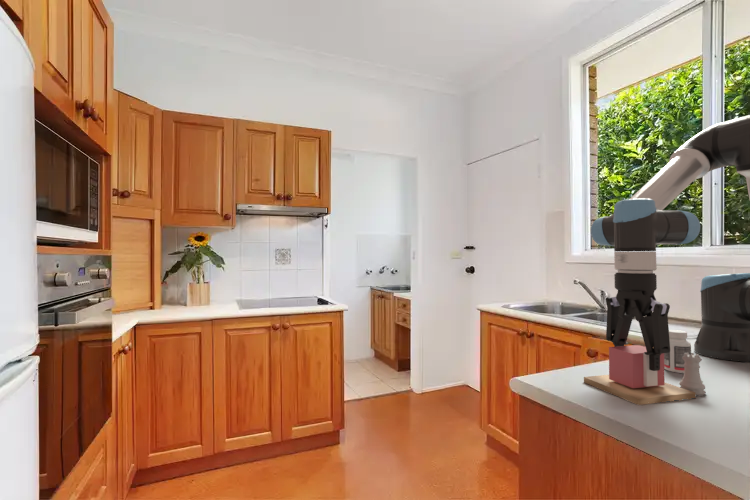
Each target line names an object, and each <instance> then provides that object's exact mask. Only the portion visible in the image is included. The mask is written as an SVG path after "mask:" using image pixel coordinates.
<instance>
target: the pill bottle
mask: <svg viewBox="0 0 750 500" xmlns="http://www.w3.org/2000/svg"><path fill="white" fill-rule="evenodd" d="M687 338H688V332H687V331H685V330H680V329H669V340H670V352H669V353H664V370H666V371H668V372H671V373H672V372H673V373H677V374H684V370H685V366H684V364H685V361H684V360H683V358H682V357H683V356H684V353H689V355H691V353H692V344H691V342H690V341H689V340H687Z"/></svg>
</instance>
